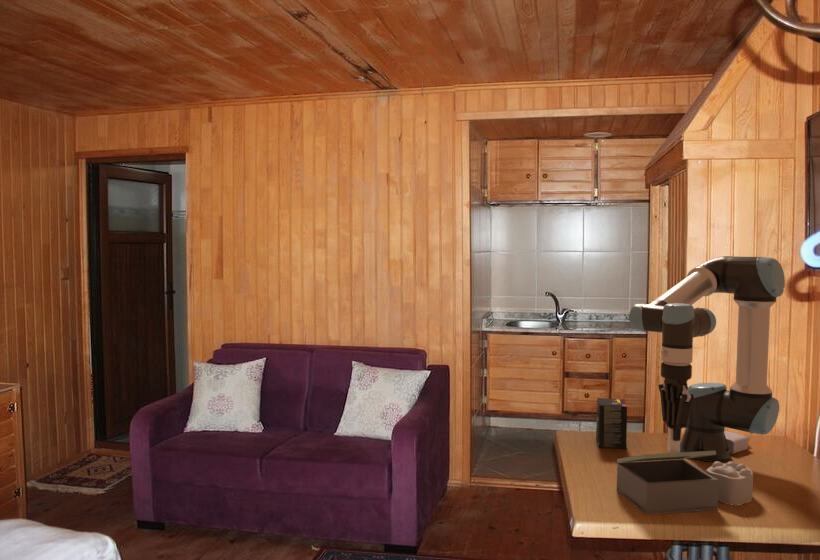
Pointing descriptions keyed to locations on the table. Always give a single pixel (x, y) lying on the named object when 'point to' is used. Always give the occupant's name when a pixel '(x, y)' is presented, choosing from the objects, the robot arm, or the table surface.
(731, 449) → the charger
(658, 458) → the lid
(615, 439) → the tampon box
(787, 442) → the table surface
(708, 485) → the storage box
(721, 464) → the lumpy-topped squat cylinder
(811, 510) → the table surface
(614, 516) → the table surface
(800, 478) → the table surface
